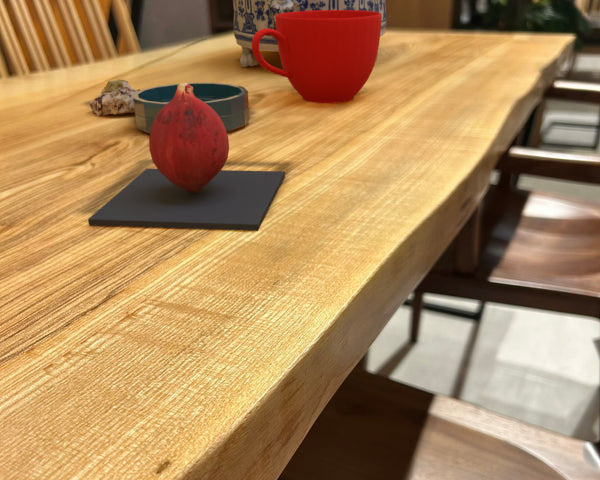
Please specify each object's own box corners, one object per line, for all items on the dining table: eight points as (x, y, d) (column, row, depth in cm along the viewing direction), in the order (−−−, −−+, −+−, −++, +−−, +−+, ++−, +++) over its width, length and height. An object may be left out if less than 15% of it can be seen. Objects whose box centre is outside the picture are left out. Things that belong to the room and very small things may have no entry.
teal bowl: (120, 138, 66) (115, 103, 64) (158, 112, 77) (154, 82, 75) (235, 139, 65) (233, 104, 63) (257, 113, 75) (256, 82, 74)
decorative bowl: (372, 79, 94) (376, -35, 87) (201, 76, 99) (192, -32, 92) (393, 44, 131) (397, -39, 124) (267, 43, 136) (264, -36, 129)
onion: (234, 202, 47) (227, 89, 43) (154, 208, 46) (139, 93, 42) (229, 178, 52) (222, 75, 48) (157, 183, 51) (143, 78, 47)
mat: (88, 225, 44) (87, 218, 44) (147, 174, 55) (146, 168, 55) (258, 231, 43) (257, 224, 43) (285, 177, 53) (284, 171, 53)
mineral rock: (164, 94, 75) (93, 78, 72) (159, 131, 76) (88, 117, 73) (155, 82, 84) (91, 68, 81) (150, 116, 85) (87, 103, 82)
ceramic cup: (233, 100, 83) (227, 15, 78) (341, 86, 90) (342, 8, 85) (281, 118, 73) (278, 23, 68) (399, 100, 80) (403, 13, 75)
